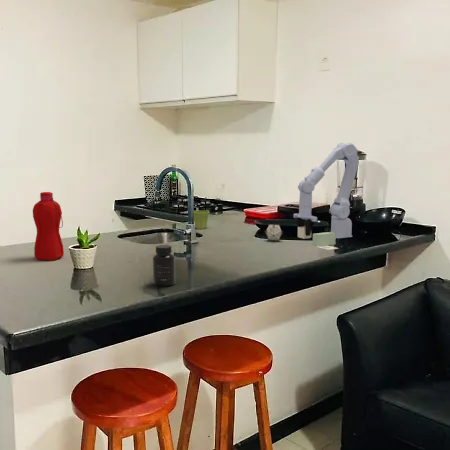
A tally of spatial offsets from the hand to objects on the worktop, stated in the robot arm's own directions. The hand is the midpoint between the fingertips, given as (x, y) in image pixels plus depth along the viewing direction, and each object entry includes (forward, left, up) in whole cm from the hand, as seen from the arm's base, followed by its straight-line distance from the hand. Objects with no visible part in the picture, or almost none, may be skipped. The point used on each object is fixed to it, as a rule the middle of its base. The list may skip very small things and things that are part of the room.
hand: (304, 234), depth 240 cm
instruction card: (+7, +23, -1) cm, 24 cm away
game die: (+18, 0, -2) cm, 18 cm away
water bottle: (+113, -12, -2) cm, 114 cm away
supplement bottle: (+91, +41, -2) cm, 100 cm away
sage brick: (+4, +18, -1) cm, 18 cm away
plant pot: (+30, -47, -2) cm, 56 cm away
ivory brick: (0, 0, -1) cm, 1 cm away
